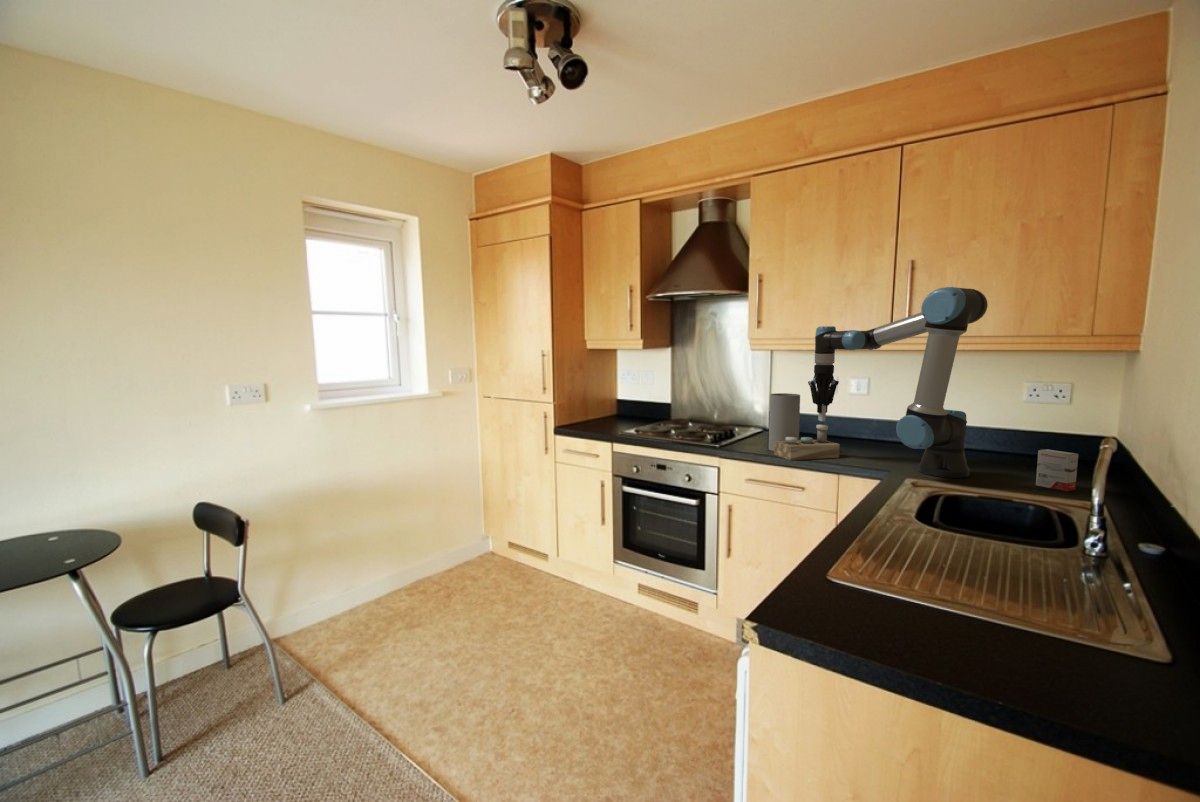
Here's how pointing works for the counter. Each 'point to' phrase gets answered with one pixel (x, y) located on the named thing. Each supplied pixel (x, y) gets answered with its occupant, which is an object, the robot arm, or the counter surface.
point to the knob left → (791, 440)
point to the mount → (807, 450)
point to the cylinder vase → (783, 417)
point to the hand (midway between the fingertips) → (821, 420)
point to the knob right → (821, 433)
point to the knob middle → (806, 440)
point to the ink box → (1057, 470)
